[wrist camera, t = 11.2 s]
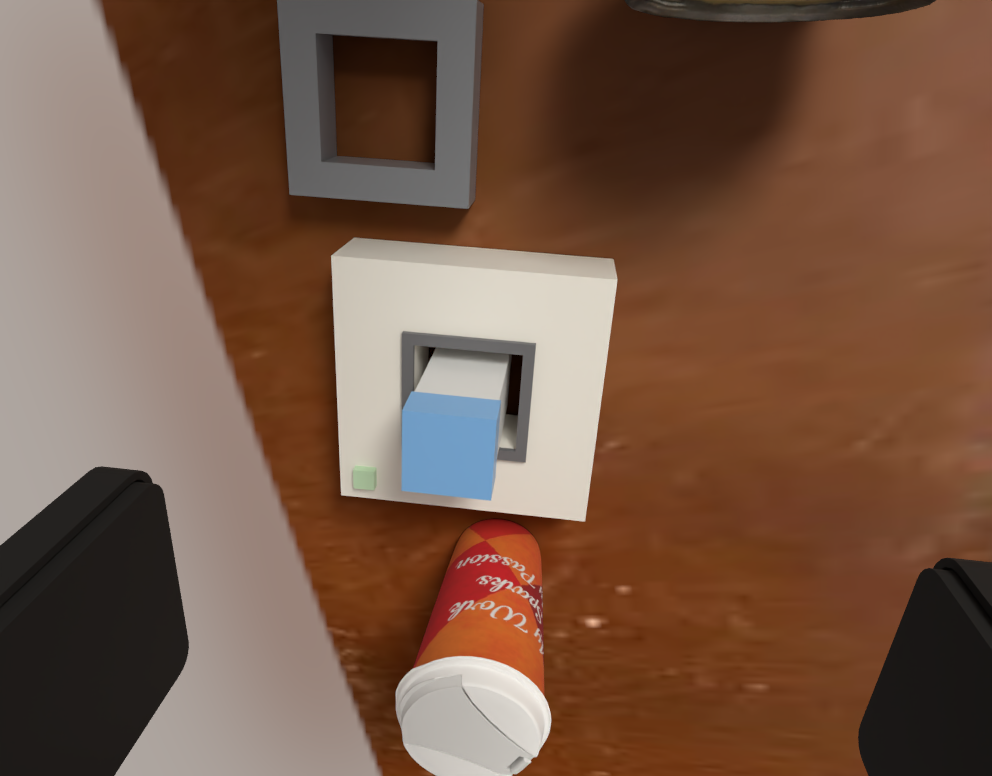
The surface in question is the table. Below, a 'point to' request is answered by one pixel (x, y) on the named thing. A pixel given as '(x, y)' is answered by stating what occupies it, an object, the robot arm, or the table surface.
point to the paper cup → (481, 660)
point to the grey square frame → (311, 99)
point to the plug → (455, 424)
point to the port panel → (477, 327)
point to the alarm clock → (773, 9)
